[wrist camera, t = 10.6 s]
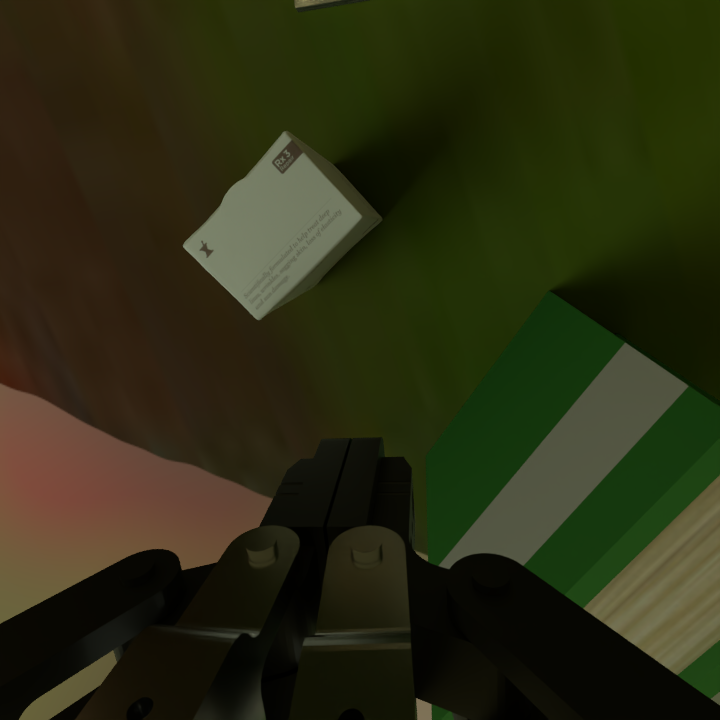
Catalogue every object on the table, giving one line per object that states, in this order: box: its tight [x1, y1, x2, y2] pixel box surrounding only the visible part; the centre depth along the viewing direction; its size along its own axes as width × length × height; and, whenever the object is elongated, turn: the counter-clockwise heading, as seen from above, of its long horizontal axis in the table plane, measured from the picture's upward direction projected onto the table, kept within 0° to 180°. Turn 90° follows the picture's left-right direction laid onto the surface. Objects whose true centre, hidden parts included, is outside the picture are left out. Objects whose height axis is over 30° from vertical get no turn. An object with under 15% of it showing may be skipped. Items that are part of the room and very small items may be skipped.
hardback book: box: [426, 291, 720, 720], centre depth 30 cm, size 18×7×24 cm, turn 150°
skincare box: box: [183, 131, 383, 320], centre depth 32 cm, size 8×6×15 cm
